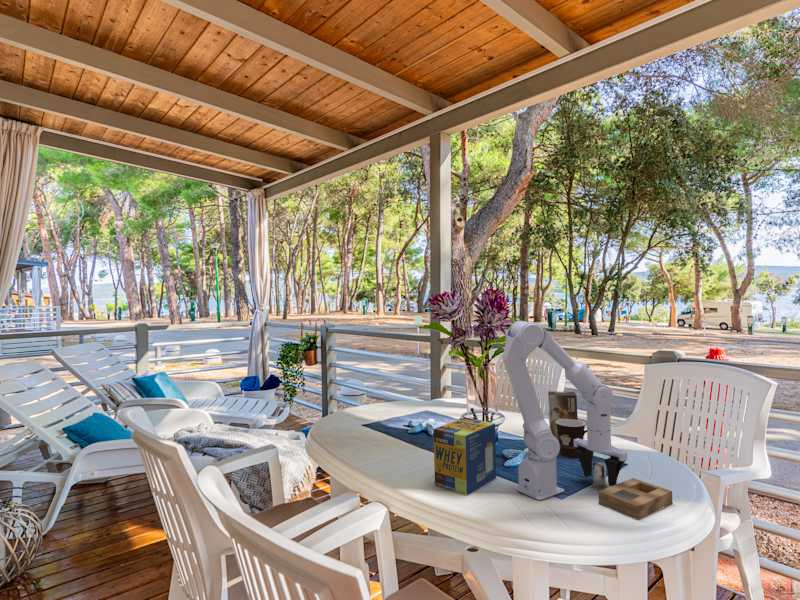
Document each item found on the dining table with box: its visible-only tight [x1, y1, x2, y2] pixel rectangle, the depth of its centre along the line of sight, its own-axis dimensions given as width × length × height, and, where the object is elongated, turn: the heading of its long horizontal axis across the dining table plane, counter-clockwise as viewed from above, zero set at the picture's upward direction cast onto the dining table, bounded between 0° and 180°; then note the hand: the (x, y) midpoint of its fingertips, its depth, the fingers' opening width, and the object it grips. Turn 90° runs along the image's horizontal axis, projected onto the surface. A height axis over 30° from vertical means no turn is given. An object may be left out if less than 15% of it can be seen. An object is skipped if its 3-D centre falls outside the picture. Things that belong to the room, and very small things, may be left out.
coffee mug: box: [556, 419, 587, 459], centre depth 149 cm, size 12×9×10 cm
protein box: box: [433, 417, 497, 496], centre depth 131 cm, size 10×15×16 cm
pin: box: [592, 461, 607, 490], centre depth 125 cm, size 3×3×6 cm
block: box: [597, 477, 673, 520], centre depth 115 cm, size 14×10×3 cm
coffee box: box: [547, 390, 579, 440], centre depth 166 cm, size 9×6×16 cm
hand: (599, 480), depth 125 cm, fingers open, 7 cm apart
